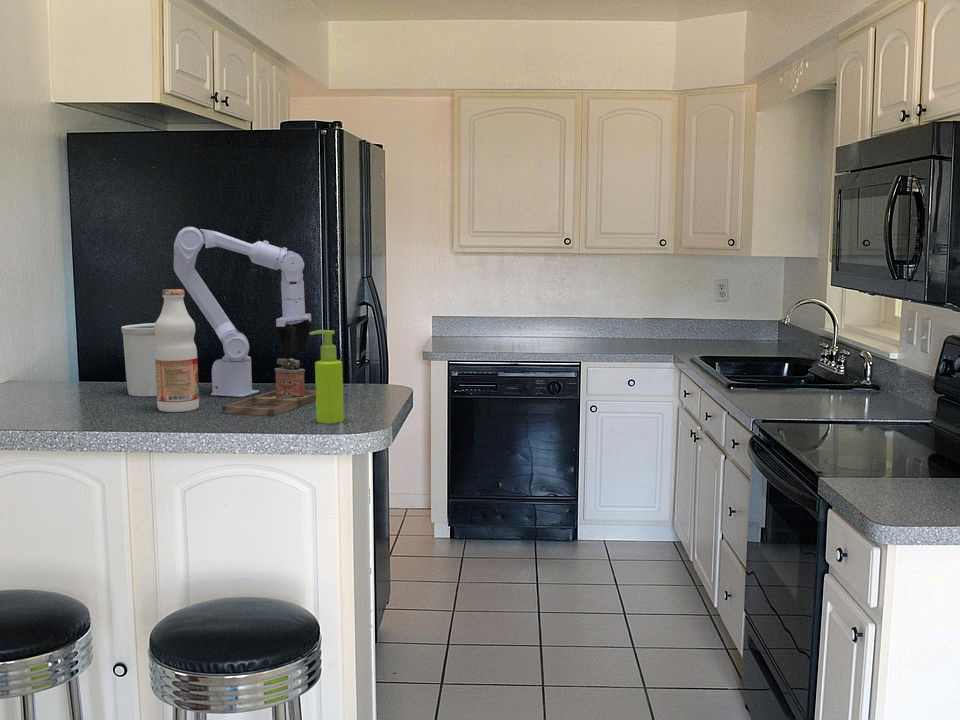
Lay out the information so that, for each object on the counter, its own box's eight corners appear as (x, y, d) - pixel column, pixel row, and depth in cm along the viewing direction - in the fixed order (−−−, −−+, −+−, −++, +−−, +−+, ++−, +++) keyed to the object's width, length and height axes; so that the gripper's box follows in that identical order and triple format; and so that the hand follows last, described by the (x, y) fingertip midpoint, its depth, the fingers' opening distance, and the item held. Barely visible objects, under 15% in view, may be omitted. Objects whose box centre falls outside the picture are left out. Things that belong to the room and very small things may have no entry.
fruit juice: (149, 410, 230) (143, 290, 226) (182, 404, 238) (177, 287, 234) (174, 414, 225) (169, 291, 221) (207, 408, 232) (203, 289, 229)
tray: (222, 412, 226) (221, 406, 226) (280, 394, 251) (279, 388, 251) (271, 416, 222) (271, 409, 222) (325, 397, 247) (325, 391, 246)
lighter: (308, 399, 243) (307, 358, 241) (300, 401, 239) (299, 360, 238) (280, 396, 246) (279, 357, 244) (272, 399, 243) (271, 358, 241)
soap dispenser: (312, 418, 219) (310, 329, 217) (344, 418, 220) (342, 328, 217) (310, 423, 214) (308, 332, 211) (342, 423, 214) (340, 331, 211)
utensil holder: (111, 395, 251) (108, 326, 248) (151, 386, 264) (148, 321, 262) (158, 399, 245) (155, 328, 243) (197, 389, 259) (194, 323, 256)
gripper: (292, 301, 244) (295, 355, 246) (320, 296, 257) (322, 348, 259) (267, 301, 246) (270, 355, 248) (296, 296, 260) (299, 347, 262)
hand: (295, 351), depth 254 cm, fingers open, 7 cm apart
